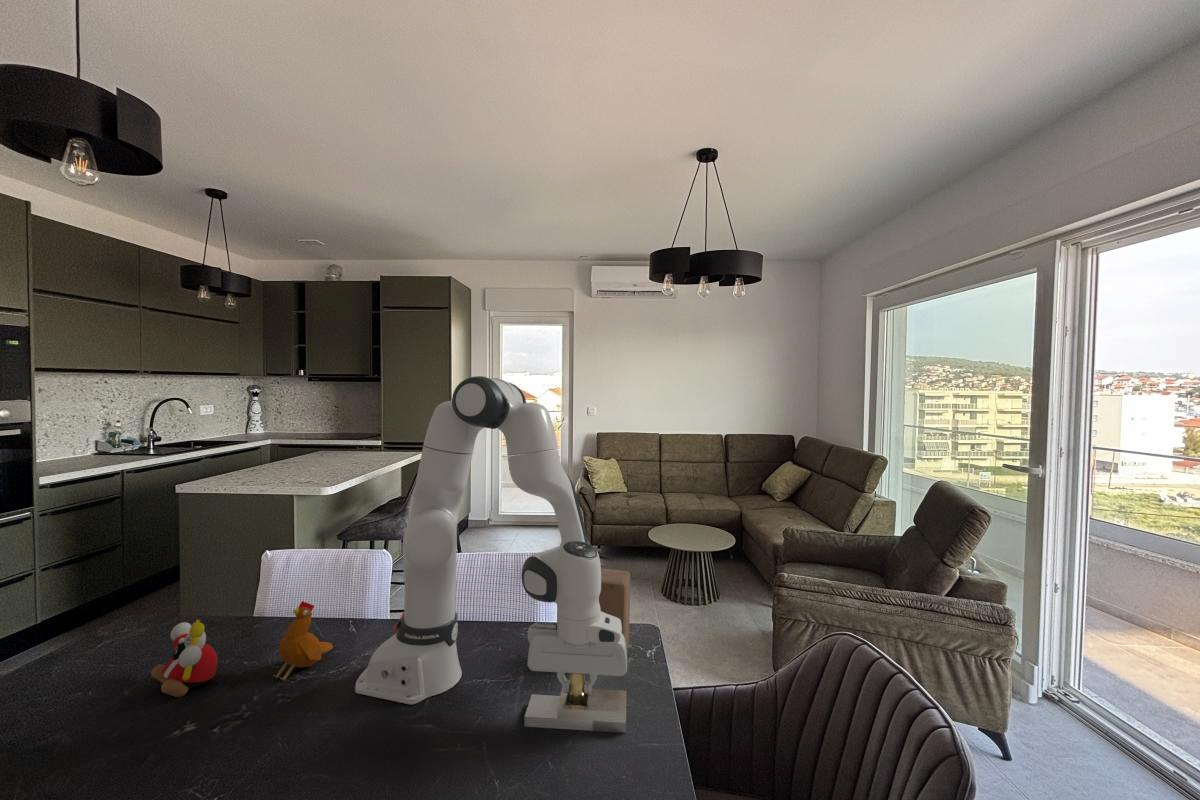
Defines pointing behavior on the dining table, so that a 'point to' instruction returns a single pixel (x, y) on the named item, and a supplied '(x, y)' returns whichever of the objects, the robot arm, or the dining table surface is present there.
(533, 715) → the stepped socket block
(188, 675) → the toy
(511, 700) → the dining table surface
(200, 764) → the dining table surface
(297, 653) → the toy
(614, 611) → the wooden block
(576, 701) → the pin
